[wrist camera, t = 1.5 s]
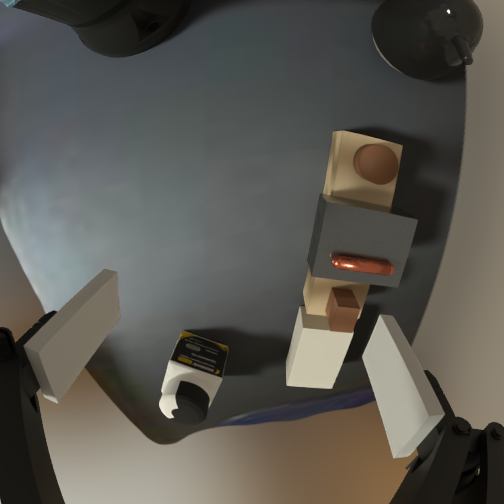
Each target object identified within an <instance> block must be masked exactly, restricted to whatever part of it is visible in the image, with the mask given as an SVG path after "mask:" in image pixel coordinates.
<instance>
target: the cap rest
mask: <svg viewBox="0 0 504 504" xmlns="http://www.w3.org/2000/svg"><path fill="white" fill-rule="evenodd" d="M353 334H354V331H353V332H352V333H344V332H333V331H330V327H329V324H328V320H327V316H322V315H313V314H307V313H306V307H305V306H300V308H299V312H298V316H297V320H296V324H295V328H294V332H293V336H292V340H291V344H290V348H289V352H288V356H287V360H286V379H287V386H298V387H312V388H331V389H332V386H333V384H334V382H335V379H336V377H337V375H338V372H339V370H340V367H341V365H342V363H343V360H344V358H345V355H346V352H347V350H348V347H349V345H350V342H351V339H352V337H353Z"/></svg>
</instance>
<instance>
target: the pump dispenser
mask: <svg viewBox="0 0 504 504" xmlns="http://www.w3.org/2000/svg"><path fill="white" fill-rule="evenodd" d="M371 29H372V35H373V40H374V43H375V46H376V48H377V50H378V52H379V53H380V55H381V56H382V58H383V59H384V60H385V61H386V62H387V63H388V64H389V65H390V66H392V67H393V68H394V69H396V70H397V71H399V72H401V73H403V74H405V75H407V76H410V77H412V78H415V79H420V80H432V79H436V78H439V77H442V76H444V75H446V74H448V73H449V72H451V71H453V70H454V69H456V68H457V67H458V66H460V65H461V64H462V63H464V64H466V65H470V64H472V63H473V59H472V55H471V53H472V52H473V51H474V49H475V47H476V46H477V45H478V43H479V41H480V39H481V36H482V32H483V18H482V15H481V12H480V10H479V8H478V7H477V5H476V4H475V3H474V1H473V0H386V1H385V2H383V3H382V4H381V5H380V6H379V7H378V8H377V10H376V11H375V13H374V15H373V17H372V23H371Z"/></svg>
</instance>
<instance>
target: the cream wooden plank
mask: <svg viewBox="0 0 504 504" xmlns="http://www.w3.org/2000/svg"><path fill="white" fill-rule="evenodd" d="M402 147H403V145H399V144H396V143H392V142H388V141H385V140H381V139H377V138H373V137H369V136H365V135H361V134H357V133H352V132H348V131H335V132H333V137H332V143H331V150H330V156H329V162H328V168H327V174H326V180H325V186H324V192H323V194H327V195H332V196H338V197H343V198H349V199H354V200H359V201H364V202H369V203H374V204H379V205H384V206H389V207H391V205H392V200H393V196H394V191H395V186H396V181H397V176H398V171H399V165H400V159H401V153H402ZM369 287H370V284H364V283H356V282H348V281H340V280H333V279H325V278H317V277H312V276H311V272H310V269H309V268H308V273H307V277H306V282H305V286H304V291H303V295H304V301H305V307H306V313H307V314H313V315H322V316H327V320H328V324H329V327H330V331H333V332H344V333H352V332H353V329H354V327H355V324H356V321H357V319H359V317H360V314H361V311H362V309H363V306H364V303H365V299H366V296H367V293H368V290H369Z"/></svg>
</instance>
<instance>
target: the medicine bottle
mask: <svg viewBox="0 0 504 504" xmlns="http://www.w3.org/2000/svg"><path fill="white" fill-rule="evenodd" d="M228 349H229V348H228V346H225V345H222V344H219V343H216V342H214V341H211V340H208V339H205V338H202V337H199V336H197V335H194V334H191V333H189V332H186V331H182V333H181V335H180V337H179V339H178V342H177V344H176V346H175V349H174V351H173V353H172V356H171V358H170V360H169V363H168V367H167V371H166V375H165V379H164V382H163V386H162V390H161V391H162V393H163V394H162V397H161V399H160V402H159V406H160V409H161V410H162V412H163V413H164V415H165V416H167V417H168V418H169V419H171V420H173V421H175V422H177V423H180V424H185V425H195V424H199V423H201V422H203V421H204V420H205V419H206V416H207V412H208V408H209V407H210V405H211V403H212V401H213V398H214V396H215V394H216V392H217V390H218V388H219V386H220V384H221V382H222V379H223V374H224V369H225V364H226V359H227V354H228Z"/></svg>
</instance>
